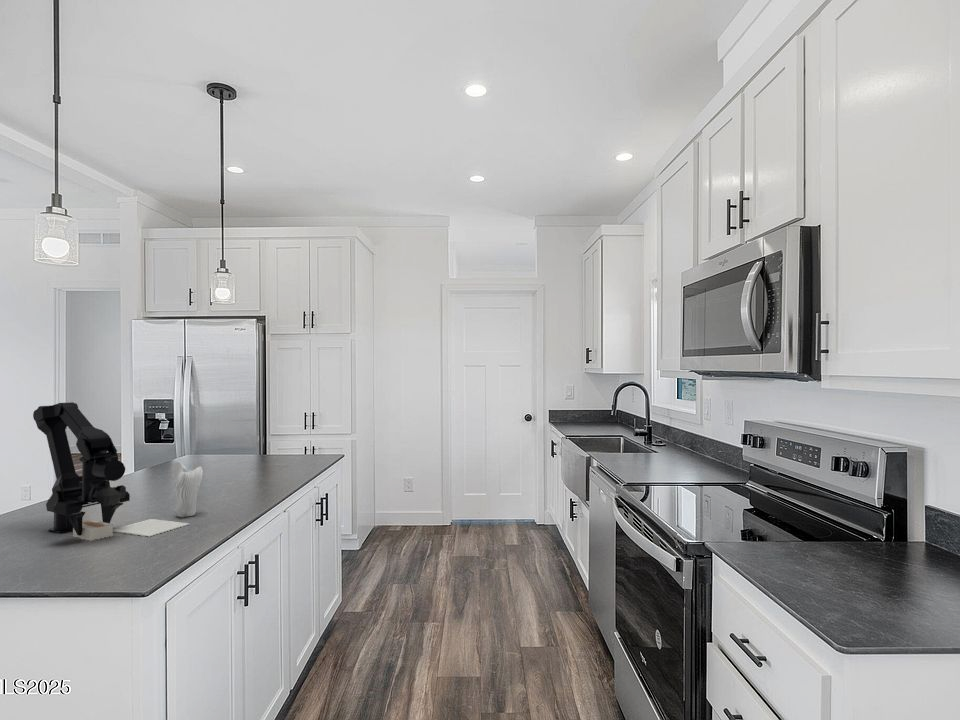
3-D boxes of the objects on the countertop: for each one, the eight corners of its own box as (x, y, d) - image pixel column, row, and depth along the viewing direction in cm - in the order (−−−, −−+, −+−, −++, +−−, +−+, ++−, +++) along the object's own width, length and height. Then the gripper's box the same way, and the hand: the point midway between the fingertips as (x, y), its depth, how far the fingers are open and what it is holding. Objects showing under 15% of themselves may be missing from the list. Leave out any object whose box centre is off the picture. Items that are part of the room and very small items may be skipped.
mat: (109, 531, 166) (109, 530, 166) (151, 520, 179) (151, 518, 179) (149, 537, 161) (149, 535, 161) (189, 524, 174) (189, 523, 174)
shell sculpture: (204, 515, 185) (205, 461, 185) (177, 520, 179) (178, 464, 179) (194, 511, 191) (195, 458, 191) (168, 515, 185) (169, 461, 185)
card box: (72, 537, 161) (73, 523, 161) (95, 532, 166) (95, 519, 166) (89, 542, 156) (90, 528, 157) (112, 536, 162) (112, 523, 162)
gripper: (81, 485, 150) (79, 544, 150) (143, 474, 168) (142, 526, 167) (52, 482, 154) (51, 539, 154) (116, 471, 172) (115, 522, 171)
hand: (92, 531), depth 161 cm, fingers open, 7 cm apart
